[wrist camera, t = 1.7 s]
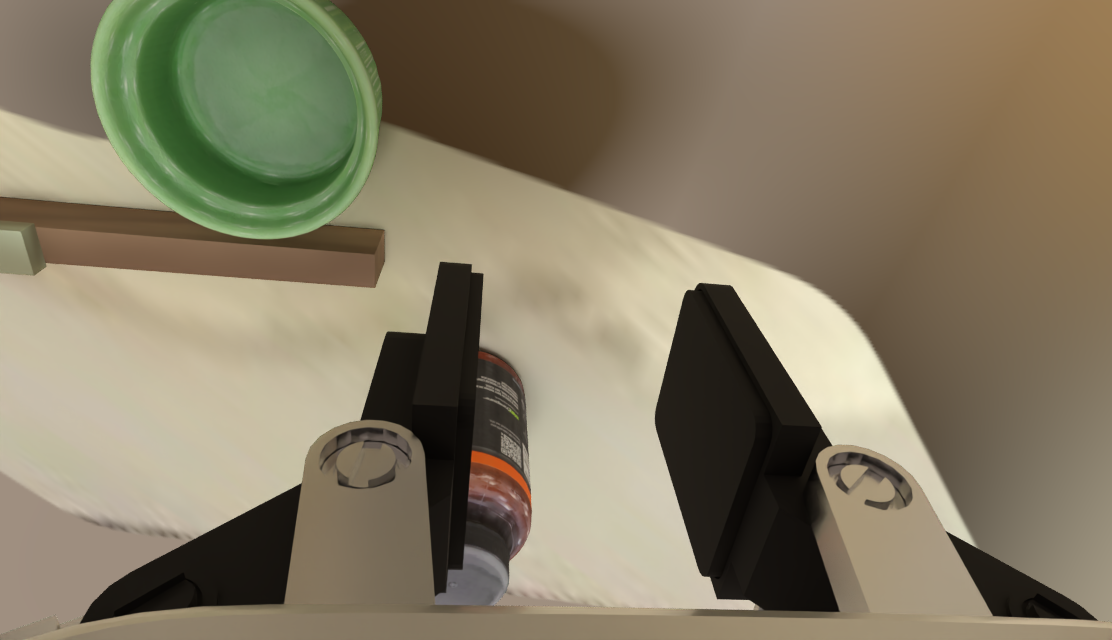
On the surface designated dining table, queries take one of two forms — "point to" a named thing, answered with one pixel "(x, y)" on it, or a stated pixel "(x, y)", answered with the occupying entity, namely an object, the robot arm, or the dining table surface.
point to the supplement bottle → (494, 488)
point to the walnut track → (178, 245)
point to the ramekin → (240, 109)
